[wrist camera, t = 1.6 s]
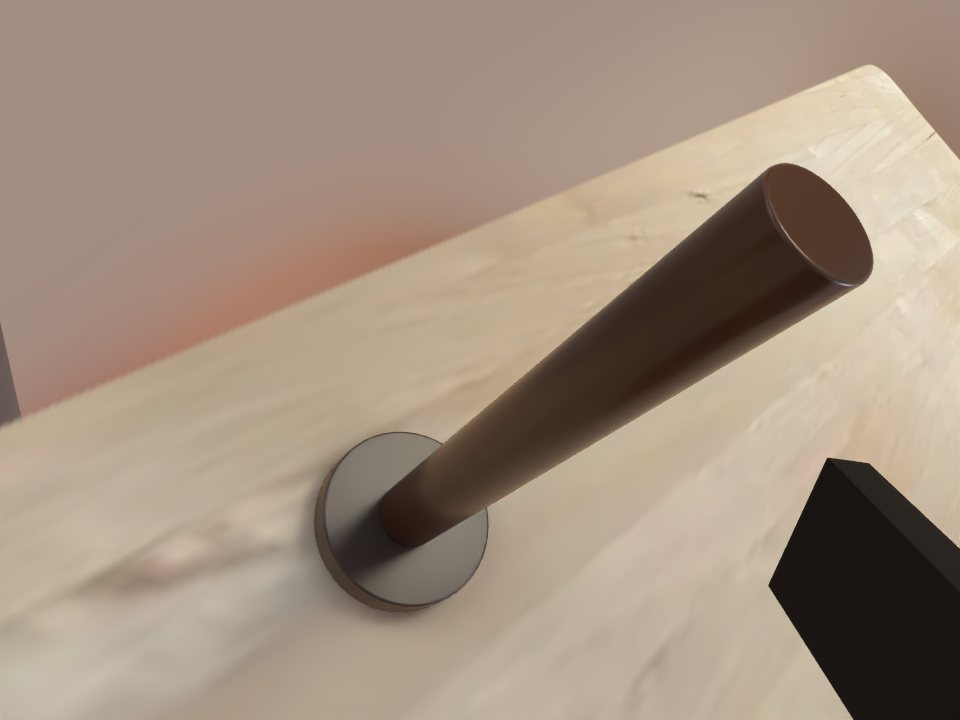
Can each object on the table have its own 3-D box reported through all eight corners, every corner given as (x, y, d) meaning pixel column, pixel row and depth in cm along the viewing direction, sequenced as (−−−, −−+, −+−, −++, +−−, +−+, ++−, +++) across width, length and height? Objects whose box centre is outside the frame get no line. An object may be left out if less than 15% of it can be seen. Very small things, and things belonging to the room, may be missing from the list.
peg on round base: (279, 557, 22) (613, 229, 8) (363, 413, 26) (697, 8, 11) (436, 644, 23) (981, 493, 9) (496, 494, 27) (953, 214, 12)
